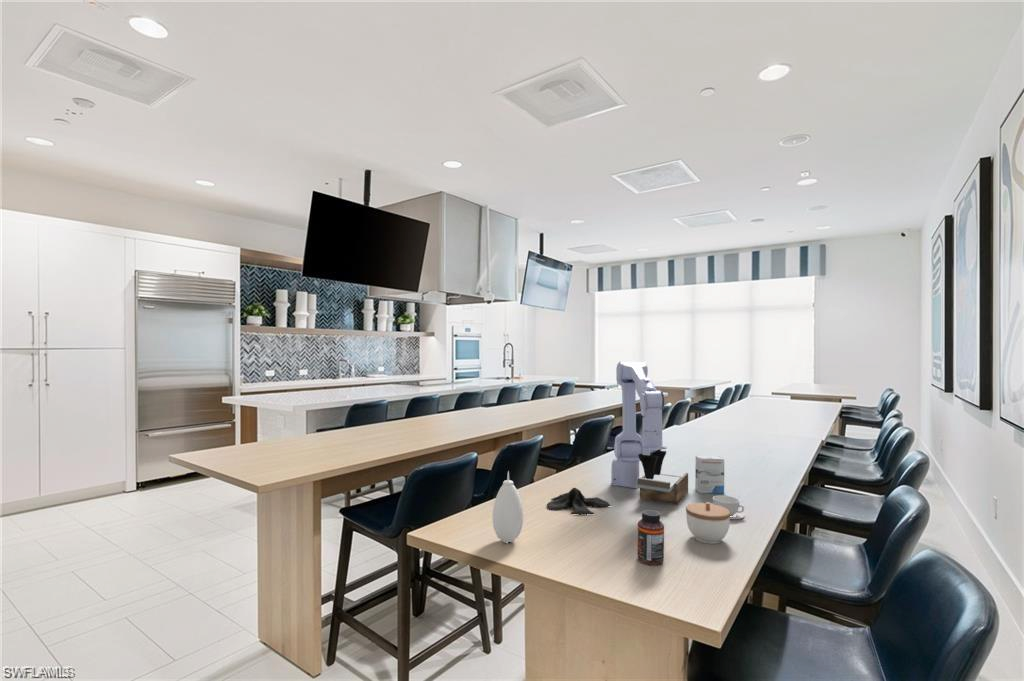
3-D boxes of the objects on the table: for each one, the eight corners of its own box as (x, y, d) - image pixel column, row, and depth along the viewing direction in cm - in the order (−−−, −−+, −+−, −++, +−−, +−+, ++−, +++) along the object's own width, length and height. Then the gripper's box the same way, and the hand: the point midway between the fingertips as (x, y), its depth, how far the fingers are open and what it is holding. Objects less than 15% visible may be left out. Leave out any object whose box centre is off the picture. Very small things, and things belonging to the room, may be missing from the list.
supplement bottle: (633, 555, 120) (634, 508, 120) (658, 555, 121) (658, 507, 121) (642, 567, 114) (642, 517, 114) (667, 566, 115) (668, 516, 115)
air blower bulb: (493, 535, 132) (493, 466, 132) (523, 536, 132) (523, 467, 132) (491, 547, 124) (491, 474, 124) (523, 548, 124) (523, 475, 124)
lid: (637, 487, 159) (637, 478, 159) (651, 476, 172) (651, 468, 172) (669, 492, 154) (669, 483, 154) (680, 480, 167) (680, 472, 167)
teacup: (702, 515, 150) (702, 499, 150) (715, 507, 157) (715, 492, 157) (737, 523, 143) (737, 506, 143) (749, 514, 151) (749, 498, 151)
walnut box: (639, 498, 164) (639, 478, 164) (652, 486, 178) (652, 468, 178) (677, 505, 158) (677, 484, 158) (688, 492, 172) (688, 473, 172)
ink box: (720, 489, 175) (720, 455, 175) (724, 494, 170) (724, 459, 170) (694, 488, 176) (694, 455, 176) (698, 493, 171) (698, 458, 171)
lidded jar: (731, 550, 124) (731, 511, 124) (685, 543, 128) (685, 506, 128) (728, 534, 134) (729, 499, 134) (686, 529, 138) (686, 494, 138)
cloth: (616, 504, 161) (616, 484, 161) (596, 522, 144) (596, 500, 144) (552, 493, 172) (552, 475, 172) (527, 508, 155) (527, 488, 155)
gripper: (659, 434, 145) (660, 482, 144) (671, 429, 157) (672, 474, 156) (635, 432, 148) (635, 479, 147) (648, 428, 161) (649, 471, 160)
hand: (653, 476), depth 152 cm, fingers open, 7 cm apart
